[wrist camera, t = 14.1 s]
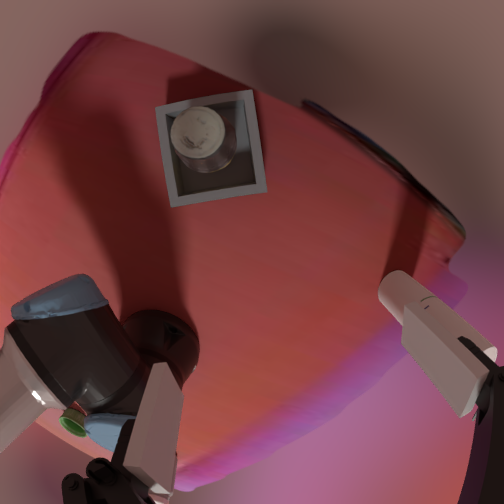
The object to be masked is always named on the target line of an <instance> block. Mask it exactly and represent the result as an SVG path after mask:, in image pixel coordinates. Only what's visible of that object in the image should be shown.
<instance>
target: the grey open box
mask: <svg viewBox="0 0 504 504" xmlns="http://www.w3.org/2000/svg"><path fill="white" fill-rule="evenodd" d="M194 106H204V107H209V108H211V109H213V110H214V111H216V112H217V113H218V114H220V115H222V116H224V117H225V118H226V119H227V120H228V121H229V122H230V123H231V124H232V126H233V127H234V128H235V133H236V138H237V148H236V151H235V154H234V157H233V158H232V160H231V162H230V163H229V164H228V165H227V166H226V167H224V168H222V169H220V170H217V171H214V172H207V173H202V172H197V171H194V170H192V169H190V168H189V167H187V166H186V165H185V164H184V162H183V161H182V160H181V159H180V158H179V156H178V155H177V154H176V152H175V148H174V146H173V145H172V142H171V139H170V131H171V126H172V124H173V122H174V120H175V118H176V117H177V116H178V115H179V114H180V113H181V112H182V111H184V110H186V109H188V108H190V107H194ZM155 110H156V118H157V126H158V133H159V140H160V147H161V154H162V160H163V166H164V172H165V178H166V184H167V190H168V195H169V200H170V206H171V208H172V207H177V206H183V205H188V204H194V203H200V202H206V201H211V200H218V199H224V198H230V197H237V196H243V195H250V194H257V193H264V192H267V186H266V179H265V171H264V164H263V157H262V150H261V143H260V136H259V130H258V123H257V116H256V110H255V103H254V97H253V91H252V90H245V91H237V92H230V93H223V94H217V95H211V96H205V97H200V98H195V99H190V100H185V101H180V102H176V103H172V104H167V105H163V106H159V107H155Z"/></svg>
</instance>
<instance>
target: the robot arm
mask: <svg viewBox="0 0 504 504" xmlns="http://www.w3.org/2000/svg"><path fill="white" fill-rule="evenodd" d="M108 303H109V302H108V300H107V299H105V298H104V296H103V295H102V293H101V292H100V290H99V288H98V287H97V285H96V284H95V282H94V280H93V279H92V278H91V277H89V276H88V275H85V274H76V275H73V276H70V277H68V278H65V279H63V280H60V281H58V282H56V283H53V284H51V285H49V286H47V287H45V288H43V289H41V290H39V291H37V292H35V293H33V294H31V295H29V296H27V297H26V298H24V299H23V300H21V301H20V302H17V303H16V304H14V305H13V306H12V307H11V313H12V317H13V319H15V320H14V321H13V322H12V323H11V324H9V325H8V326H7V327H6V328H5V330H4V341H3V346H2V348H1V349H0V453H1V452H2V451H3V450H4V449H6V447H7V446H9V444H11V443H12V442H13V441H14V440H15V439H16V438H17V437H18V436H19V435H20V434H21V433H22V432H23V431H24V430H25V429H26V428H27V427H28V426H29V425H30V424H32V423H33V422H34V421H35V420H36V419H37V418H38V417H39V416H40V415H41V414H42V413H43V412H44V411H45V410H46V409H47V408H56V409H63V410H66V409H67V408H68V407H69V406H70V405H71V404H72V403H73V402H74V401H76V402H77V403H78V404H79V405H80V406H81V407H82V409H83V410H84V411H85V412H86V413H87V416H86V417H85V418H84V428H85V432H86V434H87V435H88V436H89V437H90V438H91V439H92V440H93V441H94V442H96V443H97V444H99V445H100V446H102V447H104V448H105V449H108V450H110V451H112V452H114V453H113V456H112V460H111V462H110V461H109V460H107V459H105V458H96V459H94V460H92V461H91V462H89V464H88V466H87V468H86V474H87V476H88V477H89V478H84V479H83V478H82V477H81V476H80V475H78V474H76V473H71V474H68V475H67V476H66V477H64V479H63V481H62V495H63V502H64V504H156V503H155V502H154V500H153V499H152V498H151V496H149V495H148V491H149V489H151V490H152V491H153V492H154V493H163V494H170V493H171V484H172V476H173V468H174V461H175V453H176V446H177V439H178V432H179V426H180V419H181V413H182V407H183V400H184V395H183V393H182V387H183V384H184V383H185V381H186V380H187V379H188V377H189V376H190V374H191V373H192V372H193V371H194V370H195V368H196V366H197V363H198V358H199V352H200V348H199V343H198V340H197V337H196V335H195V334H194V332H193V331H192V329H191V328H190V327H189V326H188V325H187V324H186V323H185V322H183V321H182V320H181V319H179V318H177V317H176V316H174V315H172V314H169V313H166V312H163V311H158V310H144V311H140V312H137V313H135V314H133V315H131V316H130V317H129V318H128V319H127V320H126V321H125V323H124V324H123V326H122V325H121V324H120V322H119V321H118V319H117V317H116V316H115V314H114V312H113V311H112V309H111V307H110V306H109V304H108ZM401 344H402V345H403V346H404V348H405V349H406V350H407V351H408V352H409V354H410V355H411V356H412V357H413V359H414V360H415V361H416V362H417V363H418V365H419V366H420V367H421V368H422V370H423V371H424V372H425V373H426V375H427V376H428V377H429V378H430V380H431V381H432V382H433V384H434V385H435V386H436V387H437V389H438V390H439V391H440V393H441V394H442V395H443V397H444V398H445V399H446V401H447V402H448V403H449V405H450V406H451V407H452V408H453V410H454V411H455V413H456V414H457V415H458V417H459V418H461V417H463V416H464V415H466V414H467V413H469V412H470V411H472V408H473V406H474V404H475V403H476V404H477V406H478V409H477V411H476V413H475V414H474V416H473V419H472V421H474V419H475V418H476V424H475V431H474V438H473V443H472V449H471V454H470V459H469V464H468V468H467V472H466V477H465V480H464V484H463V487H462V491H461V494H460V497H459V501H458V504H504V366H502V367H499V366H497V365H496V364H495V363H494V362H493V361H492V360H491V359H490V358H489V357H488V356H487V355H486V354H485V353H484V352H483V351H481V349H480V348H479V347H478V346H476V345H475V344H474V343H473V342H472V341H471V340H470V339H468V338H465V337H463V336H460V337H458V338H456V337H455V336H453V335H452V334H451V333H450V332H449V331H448V330H447V329H446V328H445V327H444V326H443V325H442V324H440V323H439V322H438V321H437V320H436V319H435V318H434V317H433V316H432V315H430V314H429V313H428V312H427V311H426V310H425V309H424V308H423V307H421V306H420V305H419V304H418V303H417V302H416V301H414V302H411V303H408V304H405V305H404V316H403V329H402V340H401Z"/></svg>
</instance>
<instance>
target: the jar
mask: <svg viewBox="0 0 504 504" xmlns="http://www.w3.org/2000/svg"><path fill="white" fill-rule="evenodd" d="M176 468H177V457H176V455H175V461H174V468H173V476H172V484H171V493H170V494H163V493H154V492H153V491H152V490H151V489H149V491H148V495H149V496H151V498H152V499H153V500H154V502H155V503H156V504H169V501H168V500H170V498H169V497H170V496H172V495H173V490H174V483H175V475H176Z"/></svg>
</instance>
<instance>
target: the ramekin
mask: <svg viewBox="0 0 504 504" xmlns="http://www.w3.org/2000/svg"><path fill="white" fill-rule="evenodd" d="M85 417H86V416H85V415H83V414H82V413H81V412H79V411H77V410H75V409H71V408H68V409H66V410H65V411H64V413H63V414H62V416H61V417H60V418H59V422H60V424H61V425H62V427H63V428H65V429H66V430H67V431H68V432H70V433H71V434H73V435H75V436H78V437H82V438H84V437H87V434H86V432H85V428H84V418H85Z"/></svg>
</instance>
